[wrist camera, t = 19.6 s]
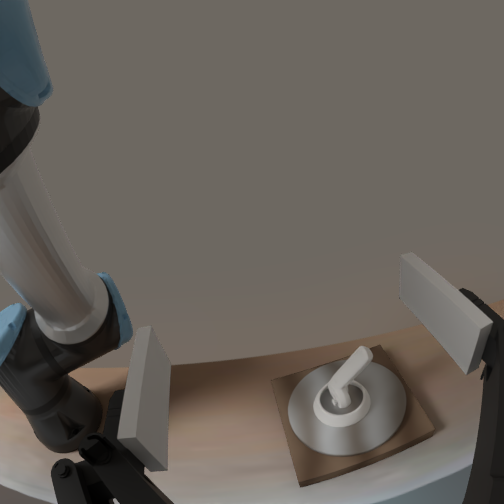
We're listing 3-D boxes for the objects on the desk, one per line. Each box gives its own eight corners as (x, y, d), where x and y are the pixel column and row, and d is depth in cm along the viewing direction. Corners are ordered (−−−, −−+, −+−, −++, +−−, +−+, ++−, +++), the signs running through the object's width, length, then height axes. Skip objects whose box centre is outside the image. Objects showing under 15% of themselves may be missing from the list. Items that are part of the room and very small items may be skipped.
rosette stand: (300, 487, 31) (297, 479, 30) (273, 388, 47) (269, 376, 46) (432, 436, 31) (436, 424, 30) (379, 353, 48) (380, 340, 46)
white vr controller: (417, 376, 32) (383, 383, 29) (359, 430, 38) (322, 439, 34) (387, 333, 38) (351, 332, 35) (337, 389, 43) (300, 393, 40)
